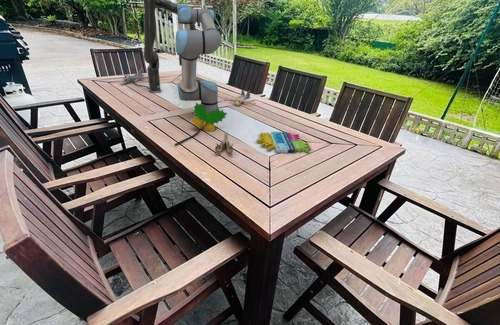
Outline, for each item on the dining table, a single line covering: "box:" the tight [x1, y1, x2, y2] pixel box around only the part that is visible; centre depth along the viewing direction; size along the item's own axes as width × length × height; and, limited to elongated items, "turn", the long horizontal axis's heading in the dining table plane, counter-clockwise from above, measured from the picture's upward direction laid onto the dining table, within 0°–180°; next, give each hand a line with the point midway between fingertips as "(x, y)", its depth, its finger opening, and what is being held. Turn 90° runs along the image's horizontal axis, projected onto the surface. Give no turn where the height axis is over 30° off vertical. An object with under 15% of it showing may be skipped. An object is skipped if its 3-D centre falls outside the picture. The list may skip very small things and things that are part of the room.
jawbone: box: [214, 131, 234, 156], centre depth 136 cm, size 9×15×10 cm
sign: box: [256, 131, 312, 154], centre depth 152 cm, size 26×2×30 cm
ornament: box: [191, 101, 228, 132], centre depth 162 cm, size 21×8×15 cm, turn 105°
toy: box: [223, 89, 257, 106], centre depth 219 cm, size 28×7×30 cm
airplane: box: [119, 66, 148, 86], centre depth 257 cm, size 38×31×10 cm
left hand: (192, 57), depth 227 cm, fingers open, 8 cm apart
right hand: (186, 64), depth 186 cm, fingers open, 13 cm apart
